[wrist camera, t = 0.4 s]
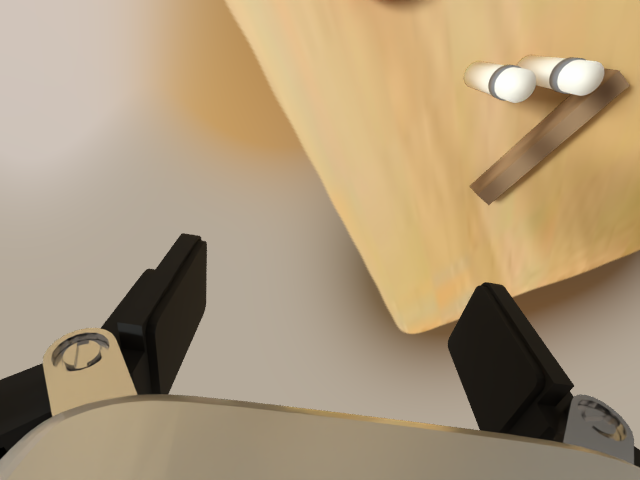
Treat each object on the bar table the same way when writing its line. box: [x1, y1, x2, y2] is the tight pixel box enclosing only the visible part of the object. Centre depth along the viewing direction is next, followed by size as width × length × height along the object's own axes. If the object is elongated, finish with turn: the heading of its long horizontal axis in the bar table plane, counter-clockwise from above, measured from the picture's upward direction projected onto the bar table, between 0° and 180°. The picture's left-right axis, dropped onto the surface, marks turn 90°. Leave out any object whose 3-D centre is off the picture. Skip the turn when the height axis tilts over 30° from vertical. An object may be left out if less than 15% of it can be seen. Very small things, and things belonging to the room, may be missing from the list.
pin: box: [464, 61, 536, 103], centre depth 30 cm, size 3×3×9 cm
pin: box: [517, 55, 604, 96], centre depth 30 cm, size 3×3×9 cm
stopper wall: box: [470, 69, 630, 205], centre depth 36 cm, size 16×2×2 cm, turn 141°
